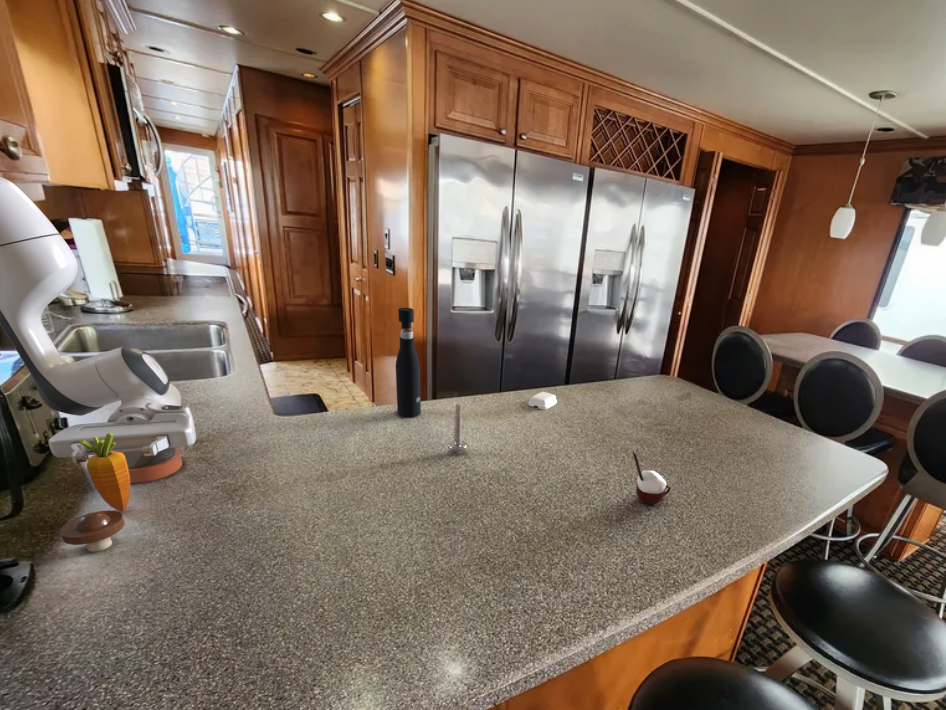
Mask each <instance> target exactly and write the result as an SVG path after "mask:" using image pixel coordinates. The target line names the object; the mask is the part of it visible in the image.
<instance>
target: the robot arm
mask: <svg viewBox="0 0 946 710" xmlns="http://www.w3.org/2000/svg"><path fill="white" fill-rule="evenodd" d="M78 272H79V264H78V260H77V258H76V256H75V254H74V252H73V251H72V248H71V247H70V246H69V245H68V243H67V241H65V239H64V237H63V236H62V235H61V234H60V232H59V231H58V230H57V229H56V227H55V226H54V224H53V223H52V222H51V221H50V219H48V217H47V216H46V214H44V213H43V211H41V209H40V208H39V207H38V206H37V204H36V203H34V202H33V201H32V200H31V199H30V198H29V196H27V195H26V193H24V192H23V191H22V190H21V189H20V188H19V187H18V186H17V185H16V184H15V183H14V182H11V181H10V180H8V179H6V178H4V177H2V176H0V326H1V328H2V329H3V331H4V333H5V335H6V336H7V337H8V340H9V342H11V344H12V345H13V348H15V351H16V352H17V354H18V356H19V357H20V359H21V361H22V362H23V364H24V365H25V367H26V369H27V370H28V372H29V374H30V376H31V378H32V380H33V383H34V385H35V388H36V391H37V393H38V394H39V396H40V398H41V400H42V401H43V403H45V405H46V406H48V407H49V408H50V409H52V410H53V411H57V412H59V413H62V414H67V415H72V416H77V417H79V416H80V417H81V416H86V415H88V414H90V413H93V412H95V411H97V410H99V409H102V408H103V407H105V406H108V405H111V404H114V403H117V402H120V403H121V404H120V405H119V406H118V407H117V408H116V409H115V410H114V411H113V412H112V413H111V414H110V415H109V417H108V419H107V421H106V422H105V421H104V422H91V423H79V424H78V423H77V424H74V425H70V426H68V427H65V428H63V429H62V430H60V431H59V432H57V433H56V434H54V435H52V436H51V437H50V438H49V439H48V446H49V449H50V452H51V453H52V455H53V456H54V457H56V458H58V459H62V458H63V459H64V458H71V460H72V463H73V464H79V463H81V464H82V463H87V462H88V459H89V458H90V456H93V455H96V454H95V453H93V452H92V451H91V450H89V449H88V448H87V447H85V446H84V445H82V444H80V441H81V440H85V441H87V442H89V443H90V444H92V445H93V446H94V447H95V448H96V446H95V443H94V441H93V438H94V437H97V438H98V440H104V441H105V437H106V434H107V433H112V434H113V435H114V436H113V440H112V443H114V442H115V443H116V444H115V446H114V447H113V448H112V449H111V451H115V452H130V451H140V450H143V452H144V456H154V455H156V453H157V452H159V451H161V450H164V449H166V448H173V447H180V448H182V447H189V446H192V445H194V444H195V442H196V440H197V433H196V428H195V427H196V426H195V422H194V421H195V420H194V417H193V414H192V411H191V409H190V406H187V405H182V396H181V392H180V391H179V390H178V388H177V387H176V386H175V385H174V384H172V383H171V381H170V377H169V375H168V373H167V371H166V370H165V368H164V366H163V364H161V363H160V361H159V360H158V359H157V358H156V357H155V356H153V355H152V354H151V353H148V352H146V351H145V350H142V349H140V348H137V347H133V346H129V345H124V346H121V347H117V348H114V349H110V350H107V351H104V352H100V353H98V354H95V355H93V356H90V357H86V358H83V359H79V360H78V361H77V360H76V361H74V362H67V361H66V360H64V359H63V358H62V356H61V355H60V353H59V351H58V350H57V347H56V346H55V344H54V342H53V341H52V338H51V337H50V336H49V334H48V332H47V330H46V329H45V327H44V325H43V321H42V315H43V313H44V311H45V309H46V307H47V306H48V305H49V304H51V302H53V301H54V300H55V299H56V298H58V297H59V296H61V295H62V294H63V293H64V292H66V291H67V290H68V289H69V288H70V287H71V285H72V284H73V283H74V281H75V280H76V278H77V275H78ZM96 449H97V448H96Z"/></svg>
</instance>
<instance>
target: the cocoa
mask: <svg viewBox="0 0 946 710" xmlns="http://www.w3.org/2000/svg"><path fill="white" fill-rule="evenodd" d="M632 456H633V459H634V463H635V467H636V470H637V474H638V475H637V478H636V489H635V490H636V495H637V497H638V499H639V501H641V502H642V503H644V504H645V505H656V504H659V503H660V502H661V501H662V500H663V498H664V497H665V496H666V495H668V494H669V493H670V491H671V486H670V485H668V484H667V482H666V480H665V479H664V478H663V476H662V475H660V474H659V473H658V472H657V471H654V470H641V469H642V468H641V465H640V462H639V458H638V455H637V452H636V451H635V450H632ZM666 489H667V490H666Z"/></svg>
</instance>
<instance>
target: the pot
mask: <svg viewBox="0 0 946 710" xmlns="http://www.w3.org/2000/svg"><path fill="white" fill-rule="evenodd" d="M121 453H123V454H124V455H125V458H126V462H127V466H128V470H129V475H130V484H141V483H142V484H143V483H149V482H153V481H156V480H159V479H162V478H165V477H168V476H171V475H173V474H174V473H176V472H177V471H179V470H180V469H181V468H182V466H183V460H182V456H183V449H182V447H173V448H166V449H164V450H161V451H159V452H157V453H156V455H154V456H144V452H143V450H140V451H130V452H121Z"/></svg>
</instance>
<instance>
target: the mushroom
mask: <svg viewBox="0 0 946 710" xmlns="http://www.w3.org/2000/svg"><path fill="white" fill-rule="evenodd" d="M125 524H126V522H125V518H124V515H123V513H122V512H121V511H117V510H98V511H93V512H88V513H85V514H83V515H80V516H77V517H75V518H73V519H71V520H69V521H68V522H66V523H64V525H63V526H62V527H61V528H60V530H59V534H60V536H61V539H62V541H63V542H64V543H65V544H67V545H69V546H70V545H71V546H83V545H85V546H86V548H87V550H88V551H89V552H92V553H96V552H101V551H104V550H106V549H108V548H109V547H111V546H112V544H113V540H112V538H111V537H112V536H114V535H116V534H117V533H119V532H120V531H121V530H122V529H123V528H124V527H125Z"/></svg>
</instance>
